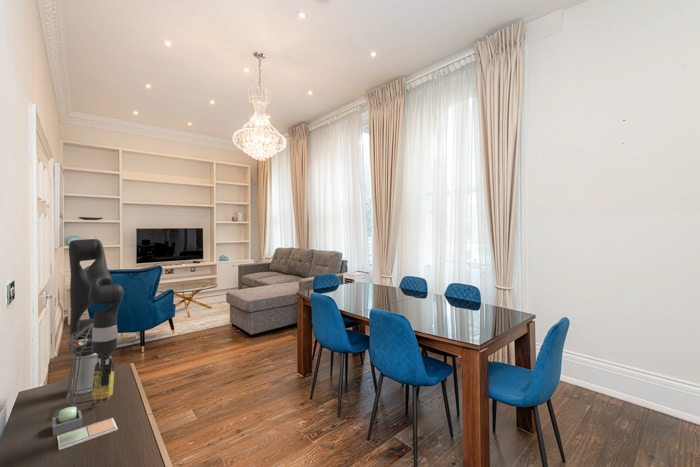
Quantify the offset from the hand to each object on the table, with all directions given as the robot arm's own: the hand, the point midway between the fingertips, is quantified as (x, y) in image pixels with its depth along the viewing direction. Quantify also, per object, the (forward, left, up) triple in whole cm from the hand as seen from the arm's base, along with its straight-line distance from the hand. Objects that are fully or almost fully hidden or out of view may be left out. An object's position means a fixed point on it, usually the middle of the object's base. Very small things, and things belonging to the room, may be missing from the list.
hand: (103, 382), depth 116 cm
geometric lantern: (-26, -1, -18) cm, 31 cm away
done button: (-11, -9, -15) cm, 21 cm away
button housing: (-11, -9, -17) cm, 22 cm away
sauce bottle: (0, 0, -7) cm, 7 cm away
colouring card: (0, -4, -17) cm, 18 cm away
